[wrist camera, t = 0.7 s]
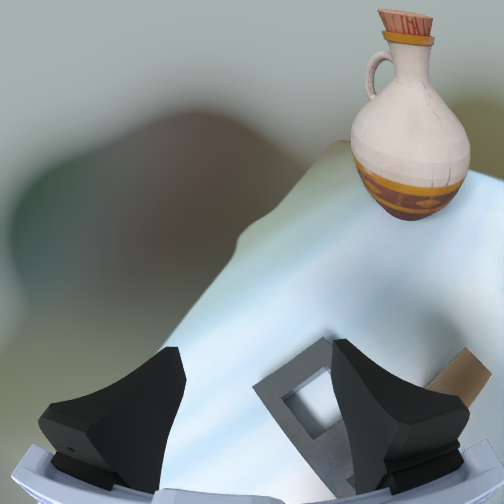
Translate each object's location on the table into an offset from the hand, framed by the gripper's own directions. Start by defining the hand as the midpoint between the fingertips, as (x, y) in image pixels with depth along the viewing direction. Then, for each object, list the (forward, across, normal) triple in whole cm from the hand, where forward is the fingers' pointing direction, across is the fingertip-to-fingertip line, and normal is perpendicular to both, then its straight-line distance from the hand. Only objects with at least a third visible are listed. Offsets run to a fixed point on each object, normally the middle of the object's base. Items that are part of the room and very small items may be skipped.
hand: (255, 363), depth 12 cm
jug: (+32, -23, -4) cm, 39 cm away
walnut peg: (+7, -18, +13) cm, 23 cm away
